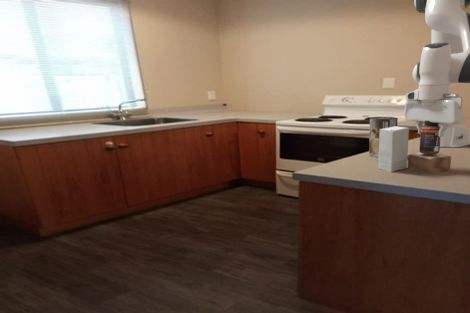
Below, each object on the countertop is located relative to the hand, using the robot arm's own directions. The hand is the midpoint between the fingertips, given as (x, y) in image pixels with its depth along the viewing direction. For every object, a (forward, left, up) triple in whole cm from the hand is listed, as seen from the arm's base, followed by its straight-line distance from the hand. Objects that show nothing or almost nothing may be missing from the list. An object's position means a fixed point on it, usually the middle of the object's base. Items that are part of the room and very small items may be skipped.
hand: (430, 135), depth 112 cm
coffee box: (-2, -25, -12) cm, 28 cm away
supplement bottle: (0, 0, -6) cm, 6 cm away
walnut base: (0, 0, -12) cm, 12 cm away
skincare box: (+9, -7, -12) cm, 17 cm away
